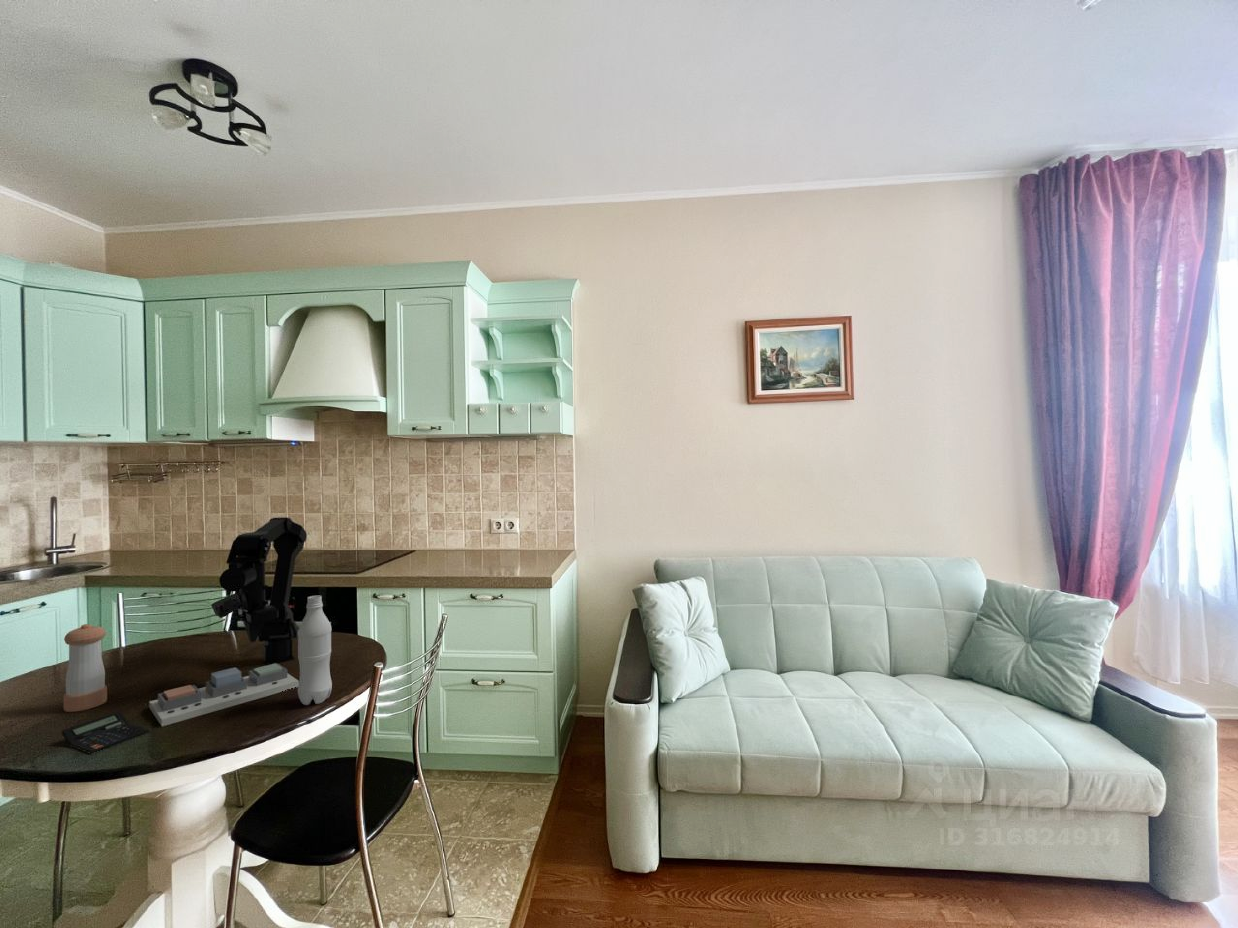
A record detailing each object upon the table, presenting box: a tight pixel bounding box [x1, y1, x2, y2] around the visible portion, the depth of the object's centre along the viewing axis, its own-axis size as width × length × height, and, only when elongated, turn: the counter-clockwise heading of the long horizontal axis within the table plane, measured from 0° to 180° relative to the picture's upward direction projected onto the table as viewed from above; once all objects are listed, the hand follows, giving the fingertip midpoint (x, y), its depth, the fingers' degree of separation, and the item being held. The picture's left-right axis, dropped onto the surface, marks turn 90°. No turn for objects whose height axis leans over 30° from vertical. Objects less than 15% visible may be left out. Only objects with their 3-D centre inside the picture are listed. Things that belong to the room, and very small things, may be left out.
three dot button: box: [163, 684, 196, 701], centre depth 125 cm, size 5×5×2 cm
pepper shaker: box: [63, 623, 108, 713], centre depth 127 cm, size 7×7×19 cm
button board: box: [148, 663, 299, 727], centre depth 131 cm, size 27×14×4 cm, turn 140°
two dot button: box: [210, 667, 242, 688], centre depth 132 cm, size 5×5×2 cm
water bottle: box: [297, 595, 333, 706], centre depth 129 cm, size 7×7×25 cm
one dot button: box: [253, 663, 282, 676], centre depth 139 cm, size 5×5×2 cm
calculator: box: [61, 710, 150, 754], centre depth 112 cm, size 9×12×3 cm
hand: (252, 641), depth 140 cm, fingers closed
